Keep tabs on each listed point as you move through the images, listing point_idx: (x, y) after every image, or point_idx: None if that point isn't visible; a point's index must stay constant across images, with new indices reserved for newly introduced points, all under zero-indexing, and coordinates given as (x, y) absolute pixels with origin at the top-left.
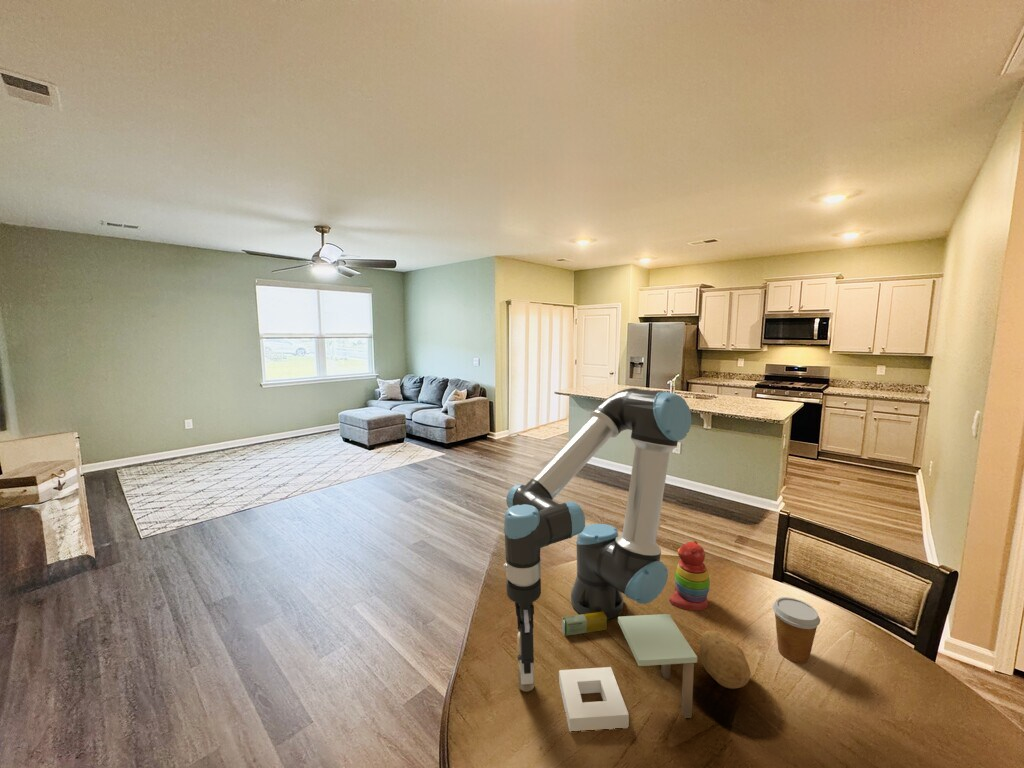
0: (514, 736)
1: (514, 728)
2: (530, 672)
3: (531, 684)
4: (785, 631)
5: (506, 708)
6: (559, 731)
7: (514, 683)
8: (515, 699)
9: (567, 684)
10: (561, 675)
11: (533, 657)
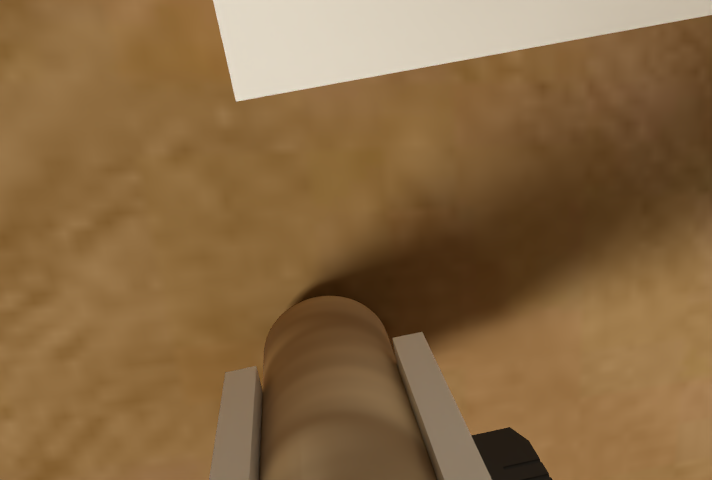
0: (688, 367)
1: (638, 375)
2: (524, 439)
3: (377, 332)
4: None
5: None
6: (676, 86)
7: None
8: None
9: (409, 11)
10: (301, 74)
11: (379, 462)
